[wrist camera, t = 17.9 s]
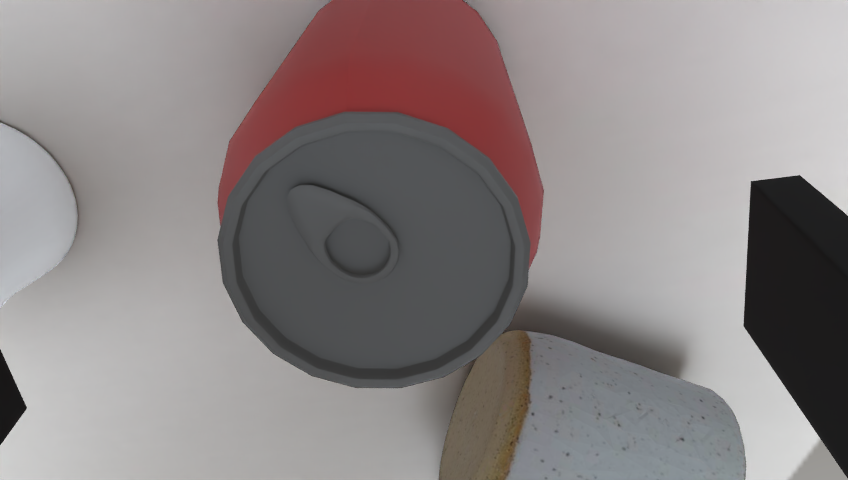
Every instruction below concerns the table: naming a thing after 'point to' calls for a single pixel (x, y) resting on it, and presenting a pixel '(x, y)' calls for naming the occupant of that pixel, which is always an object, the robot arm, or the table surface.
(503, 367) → the ceramic mug
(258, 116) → the beer can
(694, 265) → the table surface
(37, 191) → the beer glass
